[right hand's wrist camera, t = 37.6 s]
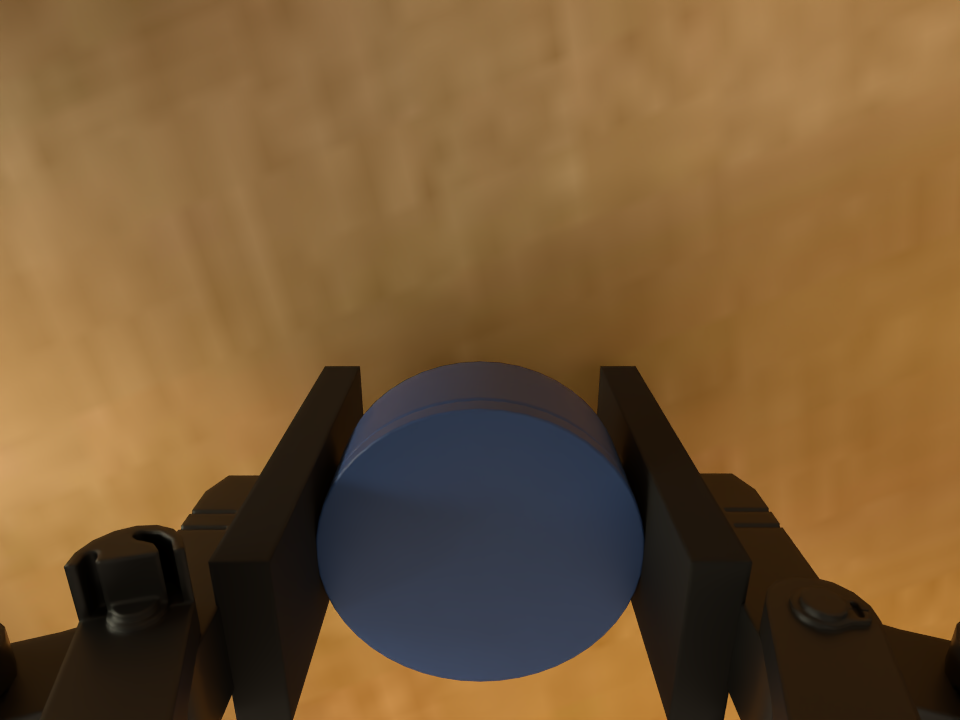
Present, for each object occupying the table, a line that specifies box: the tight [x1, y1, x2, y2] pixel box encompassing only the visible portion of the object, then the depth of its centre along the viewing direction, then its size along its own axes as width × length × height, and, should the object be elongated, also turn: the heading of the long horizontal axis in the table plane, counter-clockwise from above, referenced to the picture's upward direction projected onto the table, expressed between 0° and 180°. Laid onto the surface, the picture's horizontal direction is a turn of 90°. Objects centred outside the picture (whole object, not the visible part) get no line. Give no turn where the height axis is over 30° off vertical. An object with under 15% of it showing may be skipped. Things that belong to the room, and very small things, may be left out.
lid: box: [316, 362, 645, 682], centre depth 11 cm, size 5×5×2 cm
